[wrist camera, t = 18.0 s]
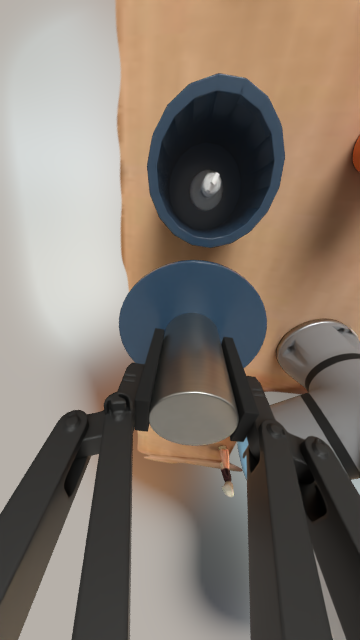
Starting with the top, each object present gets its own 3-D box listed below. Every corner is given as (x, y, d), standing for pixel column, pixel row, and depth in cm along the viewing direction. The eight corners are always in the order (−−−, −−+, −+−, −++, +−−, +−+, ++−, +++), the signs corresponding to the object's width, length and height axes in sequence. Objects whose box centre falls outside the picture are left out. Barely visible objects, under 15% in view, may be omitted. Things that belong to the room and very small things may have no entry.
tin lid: (239, 383, 21) (269, 485, 13) (124, 369, 21) (85, 466, 13) (286, 269, 15) (403, 338, 7) (119, 247, 14) (32, 290, 6)
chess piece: (183, 198, 28) (180, 191, 19) (201, 161, 26) (208, 135, 17) (209, 217, 29) (218, 219, 20) (229, 184, 27) (249, 170, 18)
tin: (233, 240, 31) (257, 254, 20) (160, 229, 31) (144, 237, 20) (258, 143, 25) (312, 89, 14) (167, 127, 24) (150, 60, 14)
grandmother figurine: (233, 451, 65) (242, 499, 54) (223, 454, 66) (230, 502, 56) (222, 441, 62) (229, 490, 51) (212, 445, 64) (217, 493, 53)
